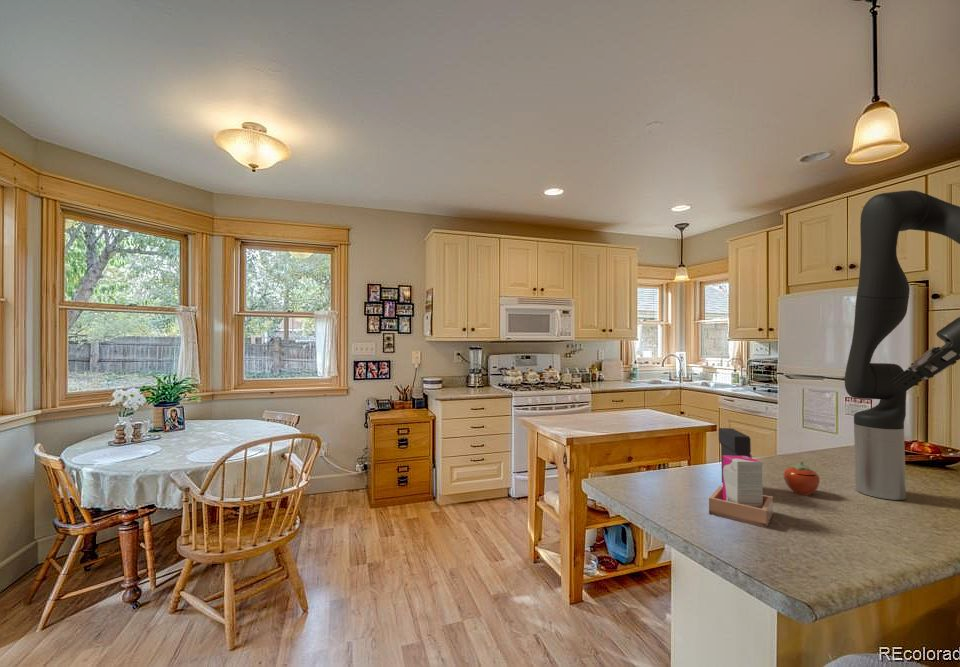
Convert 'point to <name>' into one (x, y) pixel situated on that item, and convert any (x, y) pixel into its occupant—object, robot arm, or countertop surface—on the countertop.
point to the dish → (741, 509)
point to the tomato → (801, 479)
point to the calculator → (734, 444)
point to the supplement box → (742, 480)
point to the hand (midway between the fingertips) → (896, 386)
